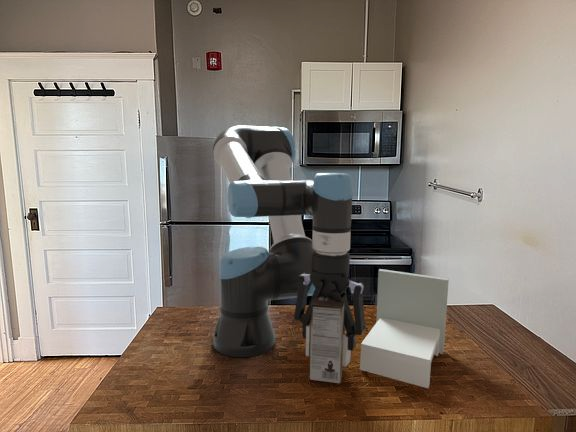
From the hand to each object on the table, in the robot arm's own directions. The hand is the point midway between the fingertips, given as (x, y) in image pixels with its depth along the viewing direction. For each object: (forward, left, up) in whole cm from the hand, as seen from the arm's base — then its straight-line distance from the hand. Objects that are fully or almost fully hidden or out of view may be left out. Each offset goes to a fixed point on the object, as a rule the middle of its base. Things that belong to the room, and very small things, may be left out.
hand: (327, 357), depth 78 cm
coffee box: (0, 0, -3) cm, 3 cm away
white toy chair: (+12, +14, -4) cm, 19 cm away
